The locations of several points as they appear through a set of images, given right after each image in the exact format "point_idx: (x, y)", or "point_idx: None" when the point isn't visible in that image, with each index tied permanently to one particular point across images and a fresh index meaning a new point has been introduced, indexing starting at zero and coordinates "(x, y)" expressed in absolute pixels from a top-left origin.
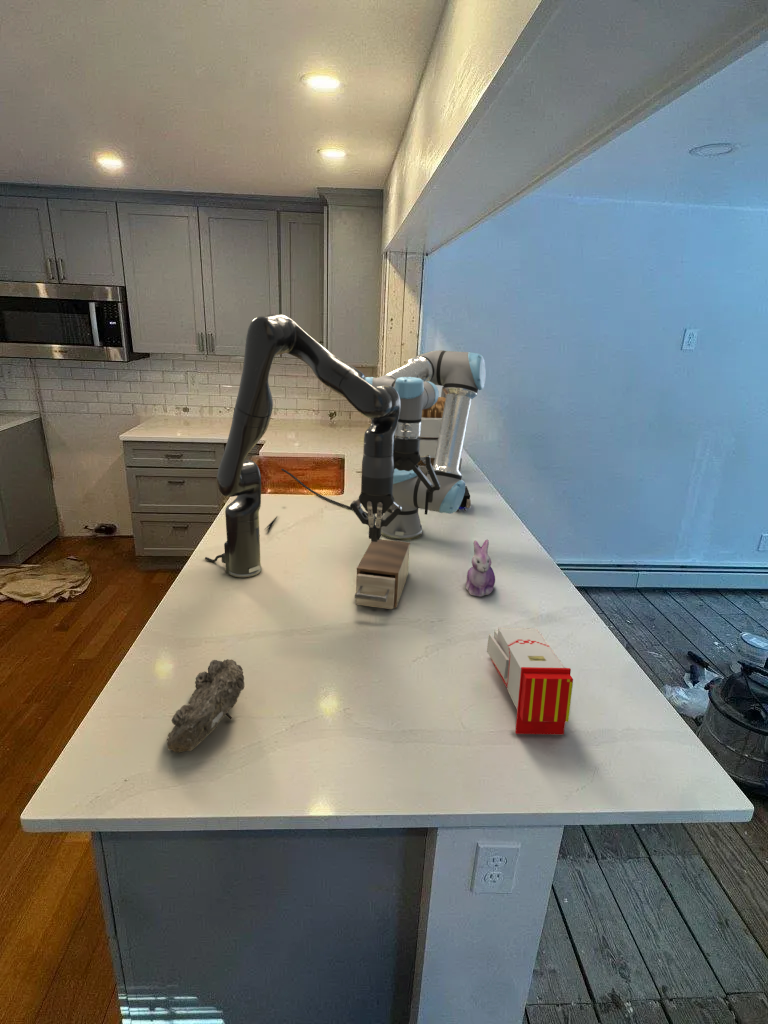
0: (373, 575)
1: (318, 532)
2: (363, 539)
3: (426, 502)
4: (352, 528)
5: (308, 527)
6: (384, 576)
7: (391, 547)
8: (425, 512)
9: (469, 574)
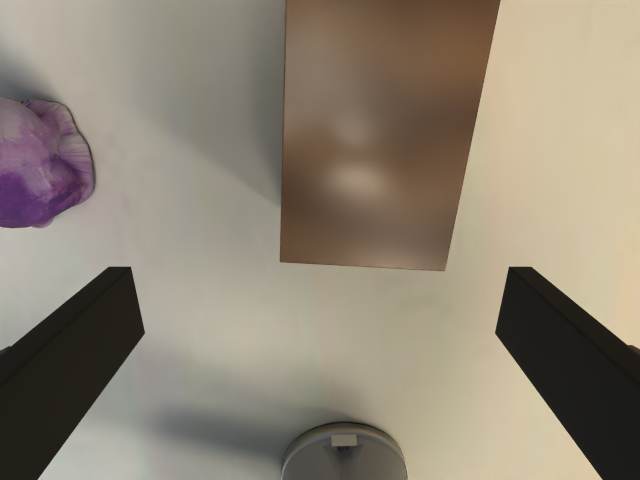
0: None
1: None
2: (445, 409)
3: (50, 328)
4: (480, 464)
5: None
6: None
7: (356, 192)
8: (114, 274)
9: (33, 133)
